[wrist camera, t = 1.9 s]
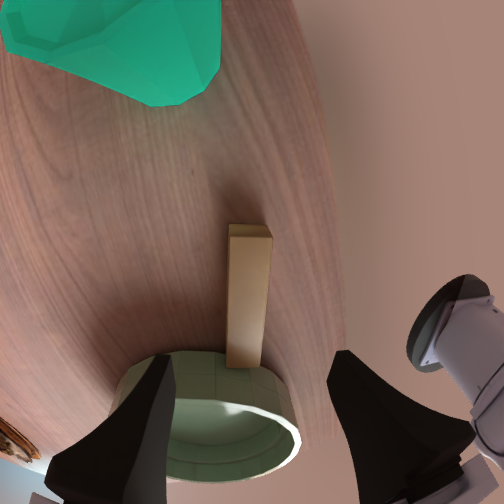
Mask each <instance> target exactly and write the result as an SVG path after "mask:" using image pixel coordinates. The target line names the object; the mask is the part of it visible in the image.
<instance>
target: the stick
mask: <svg viewBox="0 0 504 504" xmlns="http://www.w3.org/2000/svg"><path fill="white" fill-rule="evenodd" d="M272 247H273V236H272V234H271V232H270V230H269V228H268V227H267V225H246V224H229V232H228V259H227V293H226V341H225V349H226V367H227V368H257V367H260V360H261V351H262V342H263V334H264V325H265V316H266V306H267V297H268V287H269V278H270V268H271V258H272Z"/></svg>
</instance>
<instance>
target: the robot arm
mask: <svg viewBox="0 0 504 504" xmlns="http://www.w3.org/2000/svg"><path fill="white" fill-rule="evenodd" d="M494 299H495V297H494V296H493V295H489V296H483V297H476V298H469V299H462V300H455V301H448V302H447V303H446V304H445V306H444V308H443V311H442V313H441V316H440V318H439V321H438V323H437V325H436V328H435V330H434V332H433V334H432V337H431V339H430V341H429V343H428V345H427V347H426V349H425V352H424V354H423V356H422V358H421V360H420V362H419V365H420V366H425V365H429V364H432V363H436V362H440V363H441V365H442V366H443V367H444V368H445V370H446V371H447V372H448V373H449V375H450V376H451V377H452V378H453V380H454V381H455V382H456V384H457V385H458V386H459V388H460V389H461V390H462V391H463V393H464V394H465V395H466V397H467V398H468V399H469V401H470V402H471V404H472V405H473V406H474V407H473V408H472V409H471V411H470V414H471V415H472V416H473V419H472V421H471V424H470V423H469V421H465V420H461V419H457V418H453V417H449V416H447V415H444V414H441V413H439V412H436V411H434V410H431V409H429V408H427V407H425V406H423V405H421V404H419V403H417V402H415V401H413V400H412V399H410V398H409V397H407V396H405V395H404V394H402V393H401V392H399V391H398V390H396V389H395V388H394V387H392V386H391V385H389V384H388V383H387V382H386V381H384V380H383V379H382V378H381V377H379V376H378V375H377V374H376V373H375V372H373V371H372V370H371V369H370V368H369V367H368V366H367V365H365V364H364V363H363V362H362V361H361V360H360V359H359V358H358V357H356V356H355V355H354V354H353V353H352V352H351V351H349V350H342V351H336V354H335V357H334V360H333V363H332V366H331V369H330V372H329V375H328V378H327V381H326V382H327V386H328V390H329V394H330V398H331V401H332V404H333V406H334V409H335V411H336V413H337V416H338V418H339V421H340V423H341V426H342V428H343V430H344V433H345V435H346V438H347V441H348V444H349V448H350V451H351V455H352V459H353V463H354V468H355V473H356V478H357V485H358V491H359V501H360V504H478V503H480V502H481V501H482V500H483V499H484V498H486V497H487V496H488V495H489V494H490V493H491V492H493V491H494V490H495V489H496V488H497V487H498V486H499V484H498V483H497V481H496V479H495V477H494V475H493V474H492V472H491V470H490V469H489V467H488V465H487V464H486V462H485V460H484V458H483V457H482V456H481V454H482V455H484V456H485V457H487V458H489V459H491V460H492V461H493V462H494V463H495V464H496V465H497V466H498V467H499V468H500V469H501V470H502V471H503V472H504V314H503V313H502V312H501V311H500V310H499V309H497V308H496V307H495V306H494V305H493V302H494ZM175 397H176V382H175V377H174V371H173V364H172V358H171V355H167V354H156V355H155V356H154V358H153V360H152V361H151V363H150V365H149V366H148V368H147V370H146V371H145V373H144V374H143V376H142V377H141V378H140V380H139V381H138V383H137V384H136V385H135V387H134V388H133V390H132V391H131V392H130V393H129V395H128V396H127V397H126V398H125V399H124V401H123V402H122V403H121V404H120V405H119V406H118V408H117V409H116V410H115V411H114V412H113V413H112V414H111V415H110V416H109V417H108V418H107V419H106V420H105V421H104V422H103V423H101V424H100V425H99V426H98V427H97V428H96V429H95V430H93V431H92V432H91V433H89V434H88V435H87V436H85V437H84V438H83V439H81V440H80V441H78V442H77V443H76V444H74V445H72V446H71V447H69V448H67V449H65V450H64V451H62V452H60V453H58V454H56V455H55V456H53V457H52V460H51V462H50V464H49V467H48V470H47V473H46V477H45V481H44V483H45V485H46V486H47V488H48V489H50V490H51V491H52V492H54V493H55V494H56V495H58V496H59V497H60V498H62V499H63V500H64V503H63V504H167V500H166V465H167V450H168V443H169V437H170V431H171V425H172V420H173V414H174V408H175ZM472 442H473V443H474V445H475V446H476V448H477V449H478V451H479V452H480V453H481V454H478V455H477V456H475V457H474V458H472V459H471V460H469V461H467V462H466V463H465V464H463V465H462V466H460V464H459V462H460V461H461V457H460V454H461V453H462V452H463V451H464V450H465V449H466V447H468V446H469V445H470V444H471V443H472ZM29 504H59V503H57V502H55V501H52V500H50V499H48V498H45V497H43V496H41V495H39V494H37V493H35V492H33V493H32V495H31V499H30V503H29Z"/></svg>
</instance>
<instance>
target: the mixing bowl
mask: <svg viewBox="0 0 504 504" xmlns="http://www.w3.org/2000/svg"><path fill="white" fill-rule="evenodd" d="M166 354H167V355H171V358H172V364H173V371H174V377H175V382H176V397H175V408H174V414H173V420H172V425H171V431H170V437H169V443H168V450H167V465H166V477H168V478H171V479H176V480H181V481H188V482H194V483H230V482H238V481H244V480H249V479H252V478H256V477H260V476H263V475H266V474H268V473H270V472H272V471H275V470H276V469H279V468H281V467H282V466H284V465H285V464H286V463H288V462H289V461H290V460H291V459H292V458H294V457H295V456H296V455H297V453H298V450H299V448H300V446H301V444H302V439H301V436H300V432H299V428H298V424H297V421H296V417H295V413H294V409H293V405H292V402H291V398H290V395H289V391H288V388H287V386H286V385H285V384H284V383H283V382H282V381H281V380H280V379H279V378H278V377H277V376H276V375H275V374H274V373H273V372H272V371H270V370H268V369H266V368H264V367H262V366H260V367H257V368H227V367H226V354H222V353H218V352H208V351H176V352H171V353H166ZM153 358H154V356H151V357H149V358H147V359H145V360H143V361H141V362H139V363H137V364H136V365H134V366H132V367H130V368H129V369H128V370H127V372H126V373H125V374H124V376H123V377H122V378H121V380H120V381H119V383H118V386H117V389H116V392H115V396H114V399H113V402H112V405H111V409H110V412H109V415H108V417H109V416H110V415H111V414H112V413H113V412H114V411H115V410H116V409H117V408H118V406H119V405H120V404H121V403H122V402H123V401H124V399H125V398H126V397H127V396H128V395H129V393H130V392H131V391H132V390H133V388H134V387H135V385H136V384H137V383H138V381H139V380H140V378H141V377H142V376H143V374H144V373H145V371H146V370H147V368H148V366H149V365H150V363H151V361H152V360H153Z"/></svg>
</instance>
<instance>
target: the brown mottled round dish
mask: <svg viewBox="0 0 504 504" xmlns="http://www.w3.org/2000/svg"><path fill="white" fill-rule="evenodd" d="M0 451H1V452H3V453H5V454H8V455H14V454H15V456H16V457H17V458H18V459H21V460H23V461H25V462H27V463H28V462H31V463H32V459H31V458H33V459H40V458H41V455H40V454H39V452H38V451H37V450H36V448H34V446H33V445H31V444H30V443H29V442H28V440H26V439H25V438H24V437H23V436H22V435H21V434H19V433H18V432H17V431H16V430H14V429H13V428H12V427H11V426H10V425H8V424H7V423H6V422H5V421H4V420H2V419H1V418H0ZM31 463H30V464H31Z"/></svg>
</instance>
